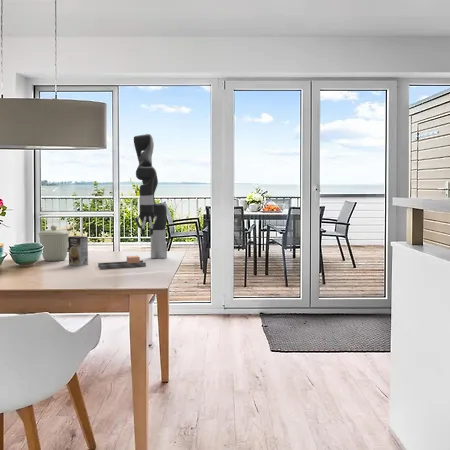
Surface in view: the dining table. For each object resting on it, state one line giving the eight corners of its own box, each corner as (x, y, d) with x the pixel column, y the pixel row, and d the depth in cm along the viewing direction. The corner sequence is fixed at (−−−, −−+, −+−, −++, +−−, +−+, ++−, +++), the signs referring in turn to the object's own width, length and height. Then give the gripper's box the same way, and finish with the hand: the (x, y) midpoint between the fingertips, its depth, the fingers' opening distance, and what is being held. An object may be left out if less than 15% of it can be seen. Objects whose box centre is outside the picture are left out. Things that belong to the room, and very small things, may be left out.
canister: (32, 262, 298) (31, 226, 296) (48, 257, 315) (47, 223, 314) (61, 262, 294) (60, 226, 293) (75, 258, 312) (74, 224, 310)
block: (137, 264, 278) (137, 255, 278) (139, 266, 272) (139, 257, 272) (126, 265, 276) (126, 256, 275) (128, 267, 270) (128, 257, 270)
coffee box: (68, 265, 285) (67, 236, 284) (76, 263, 291) (75, 235, 289) (80, 266, 281) (79, 237, 279) (88, 264, 286) (87, 236, 285)
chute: (142, 265, 281) (142, 260, 281) (146, 268, 272) (145, 262, 271) (98, 268, 273) (98, 262, 272) (100, 271, 263) (100, 265, 263)
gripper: (157, 203, 280) (158, 234, 281) (132, 204, 275) (133, 235, 277) (160, 203, 273) (161, 235, 274) (134, 204, 268) (135, 236, 270)
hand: (147, 235), depth 276 cm, fingers open, 3 cm apart
